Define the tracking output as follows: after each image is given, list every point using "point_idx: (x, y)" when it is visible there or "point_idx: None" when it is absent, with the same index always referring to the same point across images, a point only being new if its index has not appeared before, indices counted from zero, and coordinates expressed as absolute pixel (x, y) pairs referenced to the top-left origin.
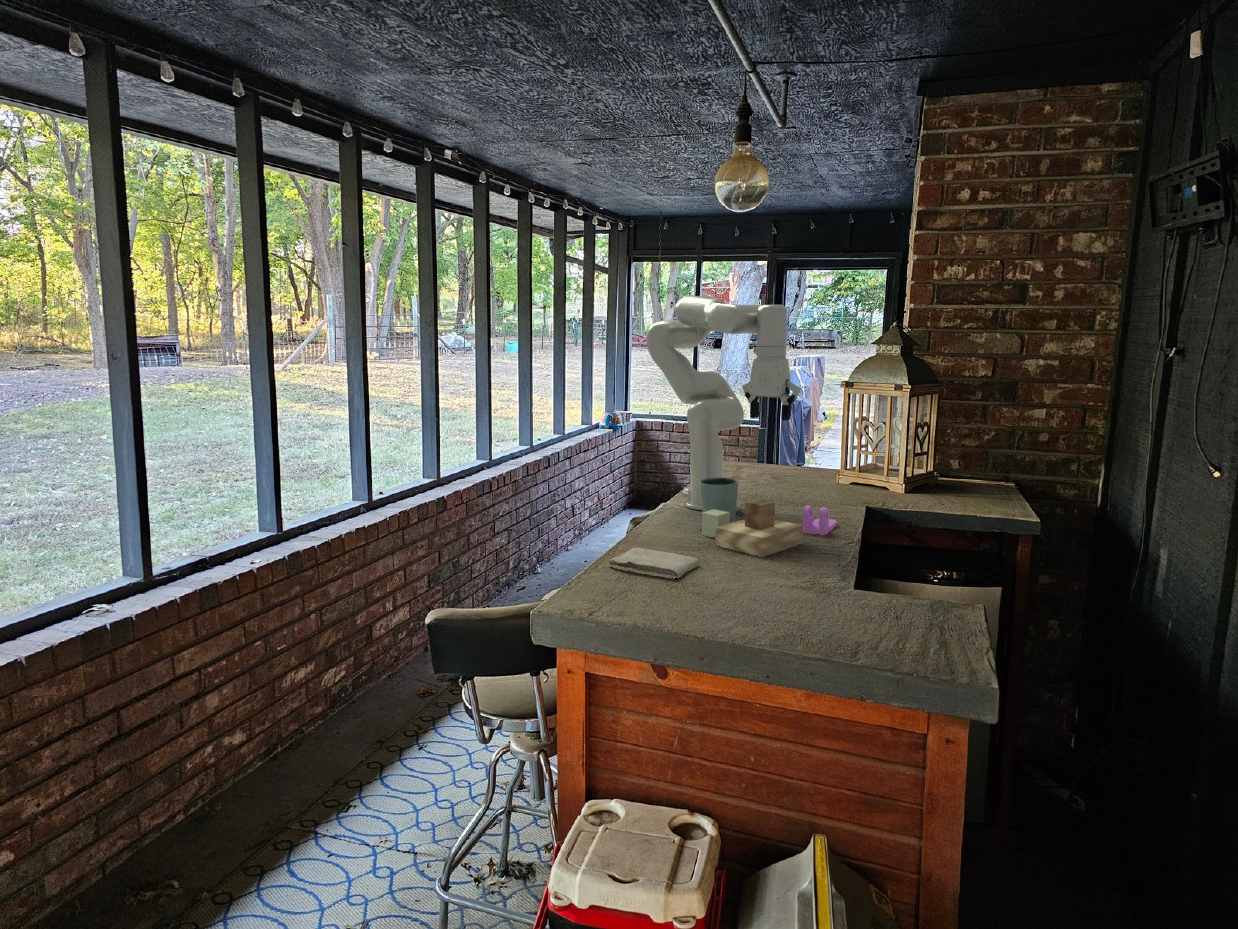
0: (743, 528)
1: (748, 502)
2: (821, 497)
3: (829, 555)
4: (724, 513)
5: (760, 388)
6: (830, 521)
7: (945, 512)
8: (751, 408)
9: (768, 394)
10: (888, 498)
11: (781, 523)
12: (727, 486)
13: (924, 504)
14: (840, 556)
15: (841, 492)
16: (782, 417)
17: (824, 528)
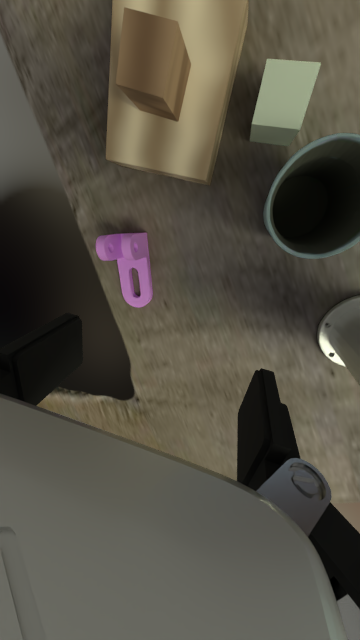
0: (185, 36)
1: (167, 22)
2: (200, 427)
3: (61, 119)
4: (259, 99)
5: (80, 574)
6: (129, 292)
7: (66, 396)
8: (272, 407)
9: (18, 425)
10: (133, 437)
11: (139, 147)
12: (283, 166)
13: (95, 421)
14: (49, 125)
15: (187, 453)
16: (64, 317)
17: (111, 234)
